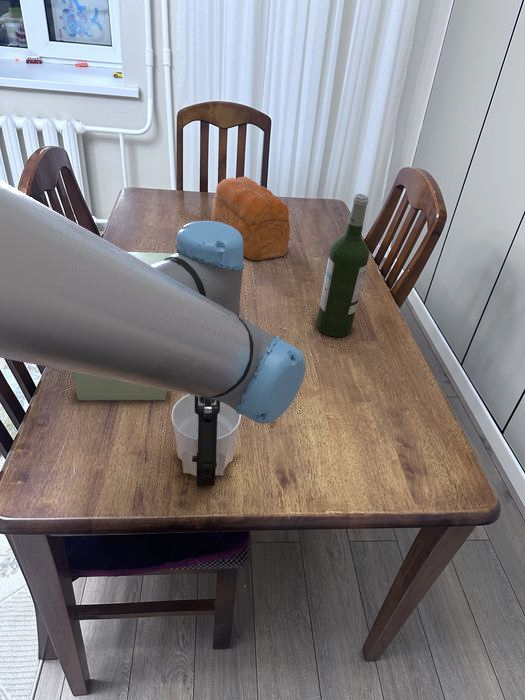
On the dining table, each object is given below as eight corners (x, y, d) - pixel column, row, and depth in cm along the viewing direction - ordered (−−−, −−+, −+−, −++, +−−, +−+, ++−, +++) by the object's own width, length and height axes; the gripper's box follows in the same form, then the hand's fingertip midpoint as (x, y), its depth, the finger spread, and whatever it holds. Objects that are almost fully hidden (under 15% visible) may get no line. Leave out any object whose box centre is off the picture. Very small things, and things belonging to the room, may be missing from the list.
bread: (248, 263, 130) (252, 208, 121) (207, 223, 148) (208, 173, 138) (292, 255, 136) (299, 202, 127) (248, 218, 154) (251, 170, 144)
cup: (166, 442, 78) (164, 398, 72) (225, 429, 82) (228, 385, 76) (182, 492, 71) (181, 447, 65) (246, 475, 75) (250, 431, 69)
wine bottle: (355, 336, 107) (389, 204, 89) (321, 338, 105) (348, 203, 87) (344, 316, 113) (373, 189, 95) (312, 317, 111) (335, 188, 93)
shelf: (165, 400, 86) (163, 351, 79) (77, 400, 84) (67, 350, 77) (175, 287, 117) (174, 245, 110) (111, 285, 115) (106, 242, 108)
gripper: (243, 403, 54) (232, 518, 68) (233, 296, 72) (226, 404, 85) (174, 403, 53) (178, 520, 67) (181, 295, 71) (183, 405, 84)
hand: (205, 455), depth 76 cm, fingers closed on cup, 10 cm apart
